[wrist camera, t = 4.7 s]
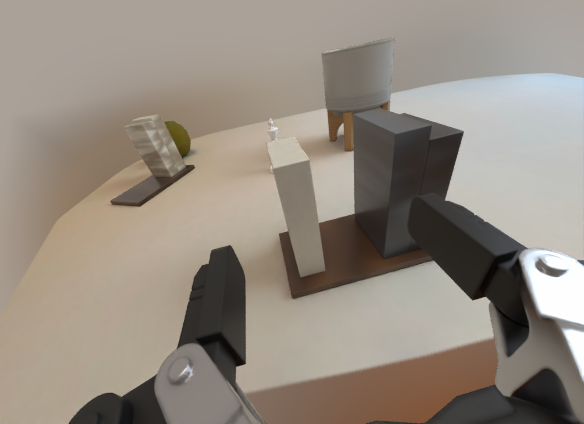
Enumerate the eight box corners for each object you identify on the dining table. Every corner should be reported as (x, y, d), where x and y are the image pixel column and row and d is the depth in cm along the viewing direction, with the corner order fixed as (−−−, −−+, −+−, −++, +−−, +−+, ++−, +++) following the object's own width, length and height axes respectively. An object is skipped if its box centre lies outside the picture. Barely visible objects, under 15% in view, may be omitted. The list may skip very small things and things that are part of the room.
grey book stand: (292, 298, 21) (254, 175, 13) (280, 238, 28) (250, 135, 20) (439, 258, 22) (483, 118, 14) (389, 209, 29) (400, 99, 21)
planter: (392, 130, 52) (400, 35, 41) (380, 152, 43) (386, 40, 33) (339, 130, 58) (335, 49, 48) (320, 150, 50) (310, 56, 39)
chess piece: (285, 161, 48) (275, 113, 43) (297, 167, 45) (288, 116, 39) (266, 169, 47) (253, 120, 41) (276, 176, 43) (263, 124, 37)
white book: (300, 277, 22) (272, 168, 15) (290, 238, 27) (265, 142, 20) (325, 271, 22) (309, 159, 15) (310, 233, 27) (293, 135, 20)
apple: (158, 161, 66) (136, 124, 60) (186, 148, 72) (170, 113, 65) (171, 165, 60) (149, 125, 54) (202, 151, 66) (185, 113, 59)
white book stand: (140, 206, 43) (92, 140, 36) (112, 204, 47) (62, 143, 39) (195, 167, 56) (168, 112, 48) (169, 168, 59) (141, 116, 51)
